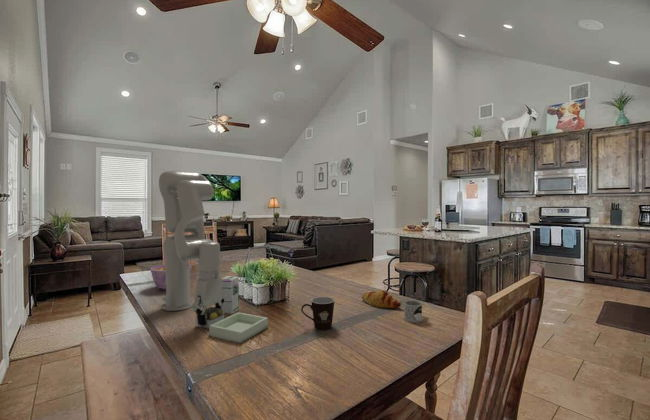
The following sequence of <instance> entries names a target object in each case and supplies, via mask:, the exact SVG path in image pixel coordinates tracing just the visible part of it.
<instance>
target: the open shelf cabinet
mask: <svg viewBox="0 0 650 420" xmlns="http://www.w3.org/2000/svg"><path fill="white" fill-rule="evenodd" d="M201 311H202V309H201ZM211 313H217V315H218V317H217V318H215V319H213V320H210V314H211ZM204 314H205V325H204V326H203V325H199V324H198V314H196V313H195V316H196V318H195V319H194V320H195V322H194V323H195V325H194V326H195V327H199V328H204V329H207V330H209V326H210V325H212V324H214V323H216V322H219V321H221V320H223V319H225V313H224V309H220V308H215V306H208V307H206V310H205V312H204Z"/></svg>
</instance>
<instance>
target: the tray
mask: <svg viewBox="0 0 650 420" xmlns="http://www.w3.org/2000/svg"><path fill="white" fill-rule="evenodd" d="M267 328H269V317H266V316H262V315H261V316H260V315H254V314H249V313H244V312H235V313H233V314H231V315H230V316H226V317H224V319H223V320H221V321H219V322H216V323H214V324H212V325H210V326H209V329H208V330H209V333H208V335H209V336H210V337H212V338H213V337H214V338H217V339H221V340H226V341H230V342H234V343H238V344H242V343H244V342H246V341H248V340H250V339H251V338H252V337H254V336H256V335H257V334H259V333H261V332H262V331H265V329H266V330H267Z"/></svg>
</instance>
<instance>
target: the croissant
mask: <svg viewBox="0 0 650 420" xmlns="http://www.w3.org/2000/svg"><path fill="white" fill-rule="evenodd" d="M361 299H362V300H363V301H364V302H366V303H367V304H368V305H369V306H373V307H377V308H386V309H397V308H399V307H401V305H402V302H401V301H399V300H397V299H396V298H394V297H393V295H391V294H389V292H388V291H386V290H378V291H370V292H365V293H363V294H361Z"/></svg>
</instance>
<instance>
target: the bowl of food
mask: <svg viewBox="0 0 650 420" xmlns="http://www.w3.org/2000/svg"><path fill="white" fill-rule="evenodd" d="M189 268H190V271H191V269H192V264H189ZM150 272H151V276H152V280H153V283H154V285H155V286H156V287H157V288H159V289H162V290H163V291H166V264H160V265H157V266H153V267H150Z"/></svg>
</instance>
